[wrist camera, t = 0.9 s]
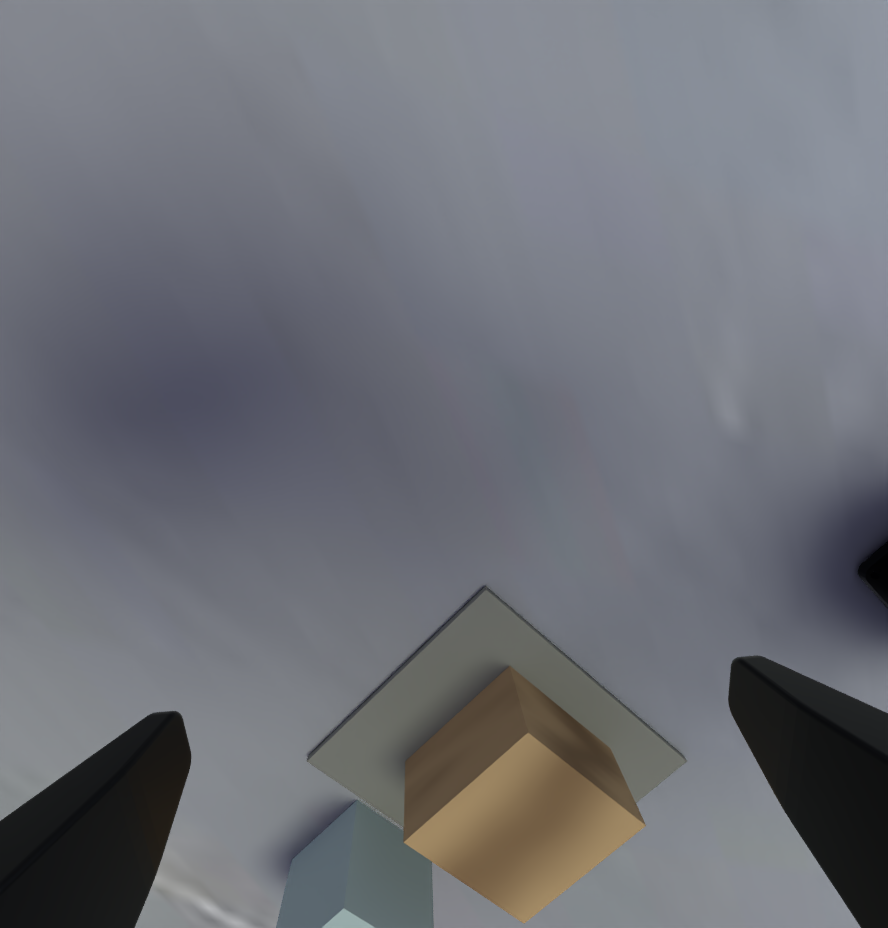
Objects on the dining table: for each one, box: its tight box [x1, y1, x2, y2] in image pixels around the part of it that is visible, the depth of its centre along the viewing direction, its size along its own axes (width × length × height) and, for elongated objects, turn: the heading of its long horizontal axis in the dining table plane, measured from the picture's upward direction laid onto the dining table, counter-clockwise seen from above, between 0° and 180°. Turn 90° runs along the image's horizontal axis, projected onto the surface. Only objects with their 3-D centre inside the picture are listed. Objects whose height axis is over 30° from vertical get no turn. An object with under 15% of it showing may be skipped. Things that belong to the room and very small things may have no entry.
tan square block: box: [403, 666, 646, 923], centre depth 23 cm, size 7×7×4 cm
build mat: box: [307, 586, 687, 827], centre depth 25 cm, size 14×12×1 cm
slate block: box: [276, 800, 434, 928], centre depth 24 cm, size 5×5×5 cm
